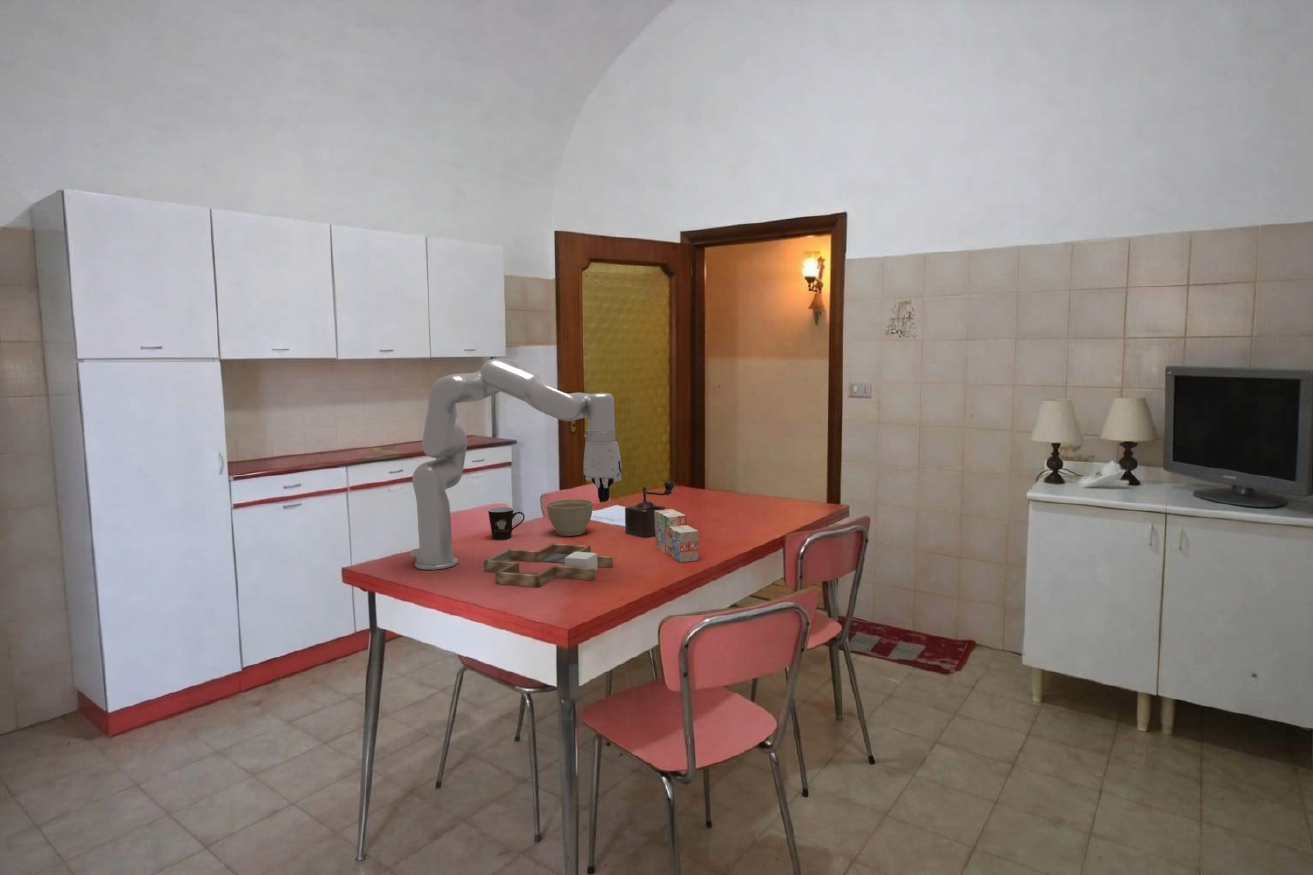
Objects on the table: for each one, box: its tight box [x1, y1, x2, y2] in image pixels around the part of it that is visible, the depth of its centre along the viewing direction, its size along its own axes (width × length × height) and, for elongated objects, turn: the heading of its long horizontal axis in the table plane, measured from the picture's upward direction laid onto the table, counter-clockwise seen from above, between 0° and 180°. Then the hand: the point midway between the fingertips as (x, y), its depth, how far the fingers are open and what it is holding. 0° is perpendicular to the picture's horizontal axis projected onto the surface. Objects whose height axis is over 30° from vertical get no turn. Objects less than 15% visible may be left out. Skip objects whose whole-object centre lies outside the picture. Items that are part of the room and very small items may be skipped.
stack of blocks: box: [654, 508, 699, 563], centre depth 243 cm, size 21×6×12 cm, turn 21°
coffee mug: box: [487, 506, 526, 541], centre depth 268 cm, size 12×9×10 cm
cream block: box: [564, 552, 598, 572], centre depth 225 cm, size 7×7×5 cm
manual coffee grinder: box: [624, 480, 676, 539], centre depth 272 cm, size 16×11×18 cm
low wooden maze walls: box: [483, 543, 614, 588], centre depth 228 cm, size 35×34×3 cm
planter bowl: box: [546, 498, 594, 537], centre depth 273 cm, size 16×16×11 cm
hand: (604, 501), depth 220 cm, fingers closed
